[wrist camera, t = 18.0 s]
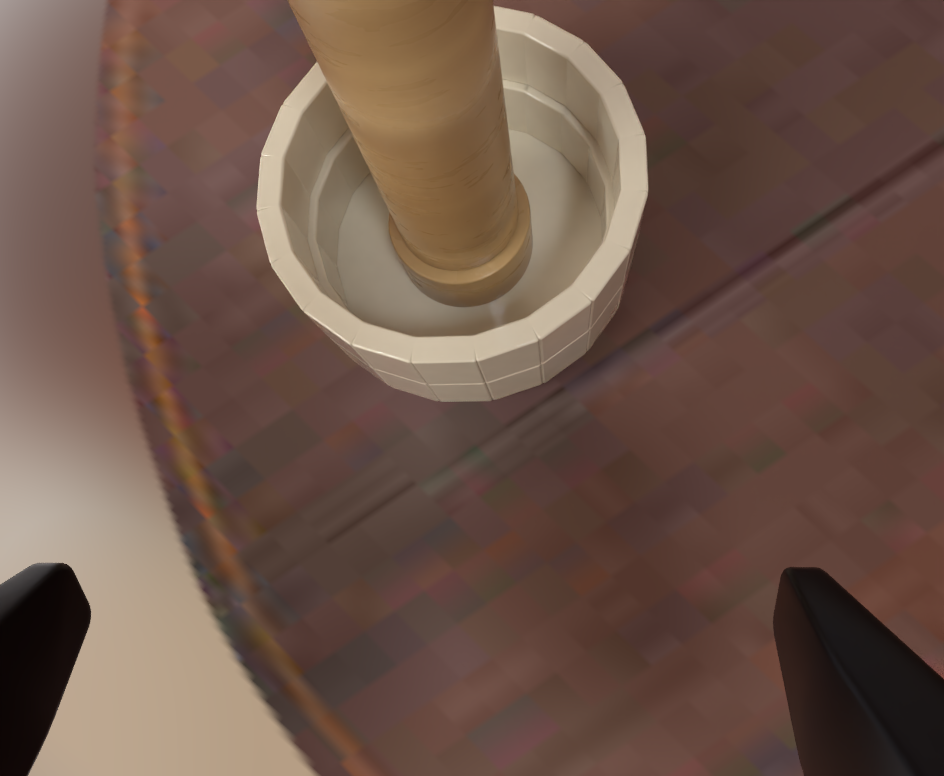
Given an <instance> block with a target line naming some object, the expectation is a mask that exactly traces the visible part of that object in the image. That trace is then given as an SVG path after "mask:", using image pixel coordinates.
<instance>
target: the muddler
mask: <svg viewBox="0 0 944 776" xmlns="http://www.w3.org/2000/svg"><path fill="white" fill-rule="evenodd" d="M288 2H289V4H290V6H291V9H292V11H293V13H294V15H295V17H296V19H297V21H298V23H299V25H300V27H301V29H302V31H303V33H304V35H305V37H306V40H307V42H308V44H309V46H310V48H311V50H312V52H313V54H314V56H315V58H316V60H317V62H318V64H319V66H320V69H321V71H322V73H323V75H324V77H325V79H326V81H327V83H328V85H329V87H330V89H331V91H332V93H333V95H334V98H335V100H336V102H337V104H338V106H339V108H340V110H341V112H342V114H343V116H344V118H345V120H346V122H347V124H348V127H349V129H350V131H351V133H352V135H353V137H354V139H355V141H356V143H357V145H358V147H359V149H360V151H361V153H362V156H363V158H364V160H365V162H366V164H367V166H368V168H369V170H370V172H371V174H372V176H373V178H374V180H375V182H376V185H377V187H378V189H379V191H380V193H381V195H382V197H383V199H384V201H385V203H386V205H387V207H388V209H389V217H388V227H389V235H390V239H391V242H392V244H393V247H394V249H395V251H396V253H397V255H398V257H399V259H400V261H401V263H402V265H403V266H404V268H405V270H406V272H407V274H408V276H409V278H410V279H411V281H412V282H413V283H414V285H415V286H416V287H417V288H418V289H419V290H420V291H421V292H422V293H423V294H425V295H426V296H427V297H429V298H431V299H433V300H434V301H436V302H439V303H442V304H444V305H449V306H453V307H474V306H480V305H483V304H487V303H489V302H492V301H494V300H496V299H498V298H500V297H502V296H503V295H505V294H506V293H507V292H509V291H510V290H511V289H512V288H513V287H514V286H515V285H516V284H517V283H518V282H519V280H520V279H521V278H522V276H523V275H524V273H525V271H526V269H527V267H528V265H529V262H530V259H531V255H532V249H533V235H532V223H531V212H530V204H529V199H528V196H527V193H526V191H525V189H524V186H523V185H522V183H521V182H520V180H519V179H518V177H517V176H516V175H515V174H514V171H513V163H512V155H511V146H510V138H509V130H508V122H507V113H506V105H505V97H504V88H503V80H502V72H501V64H500V55H499V47H498V39H497V30H496V22H495V14H494V6H493V0H288Z"/></svg>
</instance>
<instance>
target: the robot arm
mask: <svg viewBox="0 0 944 776" xmlns="http://www.w3.org/2000/svg"><path fill="white" fill-rule="evenodd" d="M90 619H91V609H90V605H89V603H88V601H87V599H86V596H85V594H84V592H83V590H82V588H81V586H80V584H79V582H78V580H77V578H76V575H75V573H74V571H73V570H72V568H71V567H70V566H68V565H67V564H64V563H37V564H33V565H31V566H29V567H28V568H26V569H24V570H23V571H21V572H20V573H18V574H16V575H15V576H13V577H12V578H10V579H9V580H7V581H5V582H4V583H2V584H1V585H0V776H28V774H29V772H30V770H31V768H32V766H33V764H34V762H35V760H36V758H37V756H38V754H39V752H40V750H41V748H42V745H43V743H44V741H45V739H46V737H47V734H48V732H49V729H50V727H51V724H52V722H53V720H54V717H55V715H56V712H57V710H58V707H59V704H60V702H61V699H62V696H63V694H64V691H65V688H66V686H67V683H68V680H69V678H70V675H71V673H72V670H73V667H74V665H75V662H76V659H77V657H78V654H79V651H80V649H81V646H82V643H83V641H84V638H85V636H86V633H87V630H88V628H89V624H90ZM773 628H774V636H775V641H776V646H777V651H778V656H779V661H780V666H781V671H782V676H783V681H784V686H785V691H786V696H787V701H788V706H789V711H790V716H791V721H792V726H793V731H794V736H795V741H796V745H797V750H798V755H799V759H800V763H801V766H802V770H803V773H804V776H944V679H943V678H942V677H941V676H940V675H939V674H938V673H936V672H935V671H934V670H933V669H932V668H931V667H930V666H929V665H928V664H927V663H925V662H924V661H923V660H922V659H921V658H920V657H919V656H918V655H917V654H916V653H914V652H913V651H912V650H911V649H910V648H909V647H908V646H907V645H906V644H905V643H903V642H902V641H901V640H900V639H899V638H898V637H897V636H896V635H895V634H894V633H892V632H891V631H890V630H889V629H888V628H887V627H886V626H885V625H884V624H883V623H881V622H880V621H879V620H878V619H877V618H876V617H875V616H874V615H873V614H872V613H870V612H869V611H868V610H867V609H866V608H865V607H864V606H863V605H862V604H861V603H859V602H858V601H857V600H856V599H855V598H854V597H853V596H852V595H851V594H850V593H848V592H847V591H846V590H845V589H844V588H843V587H842V586H841V585H840V584H839V583H837V582H836V581H835V580H834V579H833V578H832V577H831V576H830V575H829V574H828V573H826V572H825V571H824V570H822V569H820V568H816V567H789V568H786V569H784V571H783V572H782V574H781V578H780V583H779V589H778V594H777V599H776V605H775V610H774V616H773Z"/></svg>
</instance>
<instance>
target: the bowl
mask: <svg viewBox="0 0 944 776" xmlns="http://www.w3.org/2000/svg"><path fill="white" fill-rule="evenodd" d="M494 14H495V22H496V30H497V39H498V47H499V55H500V64H501V72H502V80H503V88H504V97H505V105H506V113H507V122H508V130H509V138H510V146H511V155H512V163H513V171H514V174H515V175H516V176H517V177H518V179H519V180H520V182H521V183H522V185H523V186H524V189H525V191H526V193H527V196H528V199H529V204H530V212H531V223H532V235H533V249H532V255H531V259H530V262H529V265H528V267H527V269H526V271H525V273H524V275H523V276H522V278H521V279H520V280H519V282H518V283H517V284H516V285H515V286H514V287H513V288H512V289H511V290H510V291H509V292H507V293H506V294H505V295H503V296H502V297H500V298H498V299H496V300H494V301H492V302H489V303H487V304H483V305H480V306H474V307H453V306H449V305H444V304H442V303H439V302H436V301H434V300H433V299H431V298H429V297H427V296H426V295H425V294H423V293H422V292H421V291H420V290H419V289H418V288H417V287H416V286H415V285H414V283H413V282H412V281H411V279H410V278H409V276H408V274H407V272H406V270H405V268H404V266H403V265H402V263H401V261H400V259H399V257H398V255H397V253H396V251H395V249H394V247H393V244H392V242H391V239H390V235H389V227H388V217H389V209H388V207H387V205H386V203H385V201H384V199H383V197H382V195H381V193H380V191H379V189H378V187H377V185H376V182H375V180H374V178H373V176H372V174H371V172H370V170H369V168H368V166H367V164H366V162H365V160H364V158H363V156H362V153H361V151H360V149H359V147H358V145H357V143H356V141H355V139H354V137H353V135H352V133H351V131H350V129H349V127H348V124H347V122H346V120H345V118H344V116H343V114H342V112H341V110H340V108H339V106H338V104H337V102H336V100H335V98H334V95H333V93H332V91H331V89H330V87H329V85H328V83H327V81H326V79H325V77H324V75H323V73H322V71H321V69H320V66H319V64H318V62H316V63H315V65H314V66H313V67H312V68H311V69H310V71H309V72H308V73H307V74H306V76H305V77H304V78H303V79H302V80H301V82H300V83H299V84H298V85H297V86H296V88H295V89H294V90H293V91H292V92H291V94H290V95H289V96H288V97H287V99H286V100H285V101H284V103H283V104H284V105H282V106H281V108H280V110H279V112H278V115H277V117H276V120H275V122H274V124H273V127H272V129H271V131H270V134H269V136H268V139H267V141H266V143H265V146H264V148H263V151H262V154H261V155H262V156H261V158H260V170H259V182H258V195H257V207H256V208H257V216H258V220H259V224H260V228H261V231H262V235H263V239H264V243H265V247H266V250H267V254H268V258H269V262H270V263H271V266H272V268H273V270H274V271H275V272H276V274H277V275H278V277H279V278H280V280H281V281H282V283H283V284H284V285H285V287H286V288H287V290H288V291H289V293H290V294H291V296H292V297H293V298H294V300H295V301H296V303H297V304H298V306H299V307H300V309H301V310H302V311H303V312H304V313H305V314H306V315H307V316H308V317H309V318H310V319H311V320H312V321H313V322H314V323H315V324H316V325H317V326H318V327H319V328H320V329H321V330H322V331H323V332H324V333H325V334H326V335H327V336H328V337H329V338H331V339H332V340H333V341H334V342H335V343H336V344H337V345H338V346H339V347H340V348H341V349H342V350H343V351H344V352H345V353H346V354H347V355H348V356H349V357H350V358H351V359H352V360H353V361H355V362H356V363H357V364H359V365H360V366H362V367H363V368H364V369H366V370H367V371H369V372H370V373H371V374H373V375H374V376H375V377H377V378H378V379H380V380H381V381H382V382H384V383H385V384H387V385H390V386H391V387H392V388H396V389H399V390H402V391H405V392H409V393H412V394H415V395H418V396H422V397H425V398H428V399H432V400H435V401H441V402H458V401H491V400H492V399H493V400H496V399H499V398H502V397H505V396H508V395H511V394H514V393H517V392H520V391H523V390H526V389H529V388H532V387H535V386H538V385H541V384H542V383H546V382H547V381H549V380H550V379H551V378H553V377H554V376H555V375H557V374H558V373H559V372H561V371H562V370H564V369H565V368H566V367H568V366H569V365H570V364H572V363H573V362H575V361H576V360H577V359H579V358H580V357H581V356H583V355H584V354H586V352H587V351H588V350H589V349H590V348H591V346H592V345H593V343H594V342H595V341H596V339H597V338H598V337H599V335H600V334H601V332H602V331H603V330H604V328H605V327H606V325H607V324H608V323H609V321H610V320H611V319H612V317H613V316H614V314H615V313H616V312H617V309H618V307H619V305H620V301H621V298H622V295H623V292H624V288H625V285H626V282H627V279H628V275H629V272H630V269H631V265H632V262H633V257H634V253H635V249H636V245H637V240H638V236H639V232H640V227H641V223H642V219H643V215H644V210H645V206H646V202H647V197H648V191H649V187H648V167H647V147H646V136H645V132H644V130H643V127H642V125H641V123H640V120H639V118H638V116H637V113H636V111H635V109H634V106H633V104H632V102H631V99H630V97H629V95H628V92H627V90H626V88H625V86H624V84H622V81H621V79H620V78H619V77H618V76H617V75H616V74H615V73H614V72H613V71H612V70H611V69H610V68H609V67H608V65H607V64H606V63H605V62H604V61H603V60H602V59H601V58H600V57H599V56H598V55H597V54H596V53H595V51H594V50H593V49H592V48H591V47H590V46H589V45H588V44H587V43H586V42H585V43H584V41H583V40H581V39H580V38H578V37H576V36H574V35H572V34H570V33H569V32H567V31H565V30H563V29H561V28H559V27H558V26H556V25H554V24H552V23H550V22H548V21H547V20H545V19H543V18H541V17H539V16H535V15H534V14H532V13H527V12H522V11H518V10H513V9H508V8H503V7H498V6H494Z"/></svg>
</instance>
